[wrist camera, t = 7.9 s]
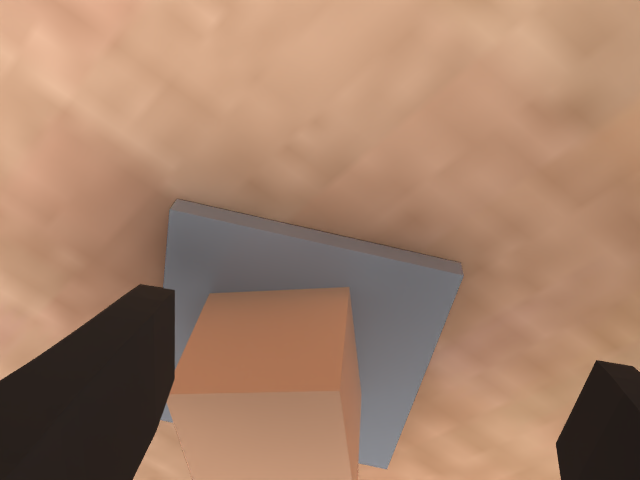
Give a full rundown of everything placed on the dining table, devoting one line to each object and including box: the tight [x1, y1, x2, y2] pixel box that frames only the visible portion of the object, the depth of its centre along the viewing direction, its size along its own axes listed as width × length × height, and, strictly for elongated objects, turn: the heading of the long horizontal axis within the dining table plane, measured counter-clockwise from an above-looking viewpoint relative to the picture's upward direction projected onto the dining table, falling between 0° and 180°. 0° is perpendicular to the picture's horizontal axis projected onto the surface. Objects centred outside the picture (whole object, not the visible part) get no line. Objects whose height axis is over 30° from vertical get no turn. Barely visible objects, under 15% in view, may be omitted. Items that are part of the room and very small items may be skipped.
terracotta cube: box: [167, 287, 362, 480], centre depth 20 cm, size 5×5×5 cm
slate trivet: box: [160, 199, 464, 469], centre depth 22 cm, size 10×10×1 cm
